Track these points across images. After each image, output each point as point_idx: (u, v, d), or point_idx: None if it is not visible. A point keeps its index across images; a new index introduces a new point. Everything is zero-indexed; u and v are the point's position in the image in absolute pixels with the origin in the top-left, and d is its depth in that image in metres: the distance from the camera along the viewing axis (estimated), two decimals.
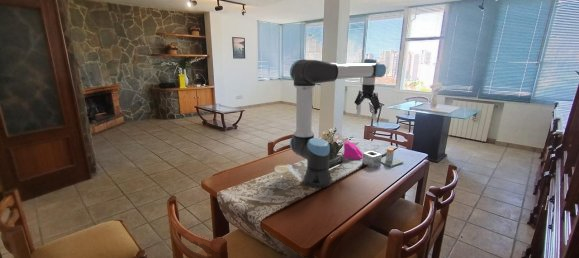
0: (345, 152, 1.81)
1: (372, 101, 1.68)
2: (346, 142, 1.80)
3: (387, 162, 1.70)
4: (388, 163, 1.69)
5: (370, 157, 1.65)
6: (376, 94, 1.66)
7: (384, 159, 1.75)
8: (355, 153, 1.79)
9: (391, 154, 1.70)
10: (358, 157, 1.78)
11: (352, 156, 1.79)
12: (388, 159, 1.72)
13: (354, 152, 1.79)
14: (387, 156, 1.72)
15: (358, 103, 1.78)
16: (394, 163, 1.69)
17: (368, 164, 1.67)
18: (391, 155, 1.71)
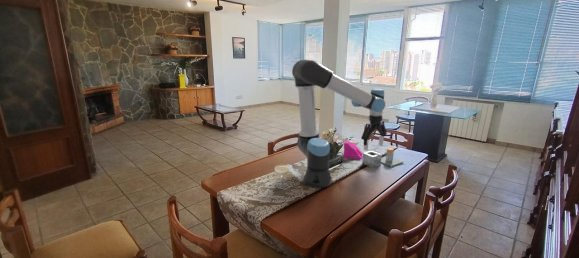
0: (345, 152, 1.82)
1: None
2: (346, 142, 1.80)
3: (387, 162, 1.70)
4: (388, 163, 1.69)
5: (370, 157, 1.65)
6: (367, 125, 1.60)
7: (384, 159, 1.75)
8: (355, 153, 1.80)
9: (391, 154, 1.70)
10: (358, 157, 1.78)
11: (352, 156, 1.79)
12: (388, 159, 1.72)
13: (354, 152, 1.80)
14: (387, 156, 1.72)
15: (380, 133, 1.70)
16: (394, 163, 1.69)
17: (368, 164, 1.67)
18: (391, 155, 1.71)
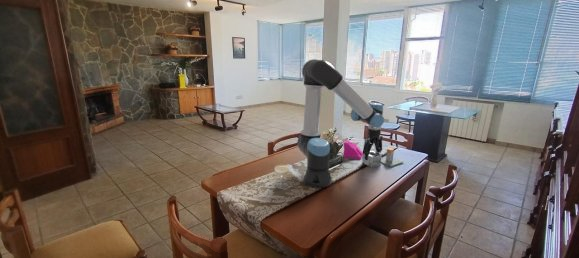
0: (345, 151, 1.82)
1: None
2: (346, 142, 1.81)
3: (387, 162, 1.70)
4: (388, 163, 1.69)
5: (370, 157, 1.65)
6: (366, 140, 1.63)
7: (384, 159, 1.75)
8: (355, 153, 1.80)
9: (391, 154, 1.70)
10: (357, 157, 1.78)
11: (351, 156, 1.79)
12: (388, 159, 1.72)
13: (354, 152, 1.80)
14: (387, 156, 1.72)
15: None
16: (394, 163, 1.69)
17: None
18: (391, 155, 1.71)
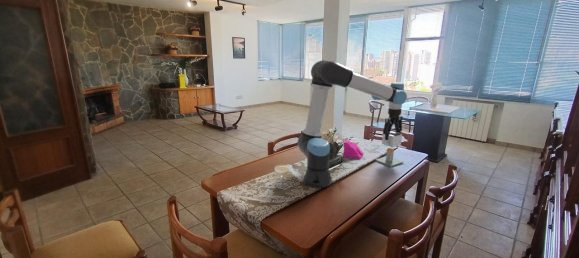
0: (345, 151, 1.83)
1: None
2: (346, 141, 1.82)
3: (387, 162, 1.70)
4: (388, 163, 1.69)
5: (390, 137, 1.65)
6: (386, 120, 1.62)
7: (384, 159, 1.75)
8: (354, 152, 1.80)
9: (391, 154, 1.70)
10: (357, 156, 1.79)
11: (351, 155, 1.80)
12: (388, 159, 1.72)
13: (353, 151, 1.80)
14: (387, 156, 1.72)
15: (395, 129, 1.71)
16: (394, 163, 1.69)
17: None
18: (391, 155, 1.71)
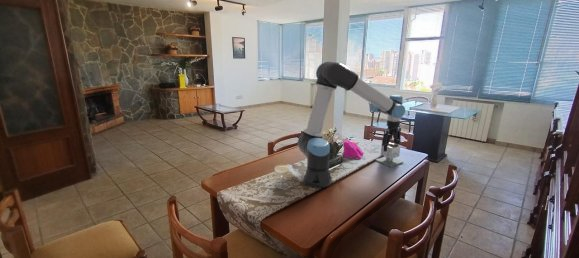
0: (345, 151, 1.84)
1: None
2: (346, 141, 1.82)
3: (387, 162, 1.70)
4: (388, 163, 1.69)
5: (389, 148, 1.67)
6: (385, 132, 1.64)
7: (384, 159, 1.75)
8: (354, 152, 1.81)
9: None
10: (357, 156, 1.79)
11: (351, 155, 1.80)
12: (388, 159, 1.72)
13: (353, 151, 1.81)
14: None
15: (394, 141, 1.73)
16: (394, 163, 1.69)
17: None
18: None
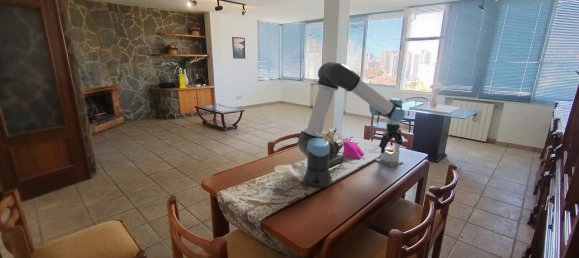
0: (345, 150, 1.84)
1: None
2: (346, 141, 1.83)
3: None
4: (388, 163, 1.69)
5: (388, 154, 1.68)
6: (385, 133, 1.64)
7: None
8: (354, 152, 1.81)
9: None
10: (356, 156, 1.79)
11: (351, 155, 1.81)
12: None
13: (353, 151, 1.81)
14: None
15: (396, 141, 1.74)
16: (394, 163, 1.69)
17: (386, 161, 1.70)
18: None
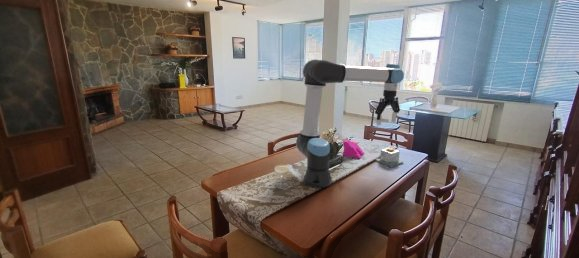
0: (345, 150, 1.85)
1: None
2: (346, 140, 1.83)
3: None
4: (388, 163, 1.69)
5: (388, 154, 1.68)
6: (381, 99, 1.61)
7: None
8: (354, 152, 1.81)
9: None
10: (356, 156, 1.79)
11: (350, 155, 1.81)
12: None
13: (353, 151, 1.81)
14: None
15: (393, 110, 1.70)
16: (394, 163, 1.69)
17: (386, 161, 1.70)
18: None
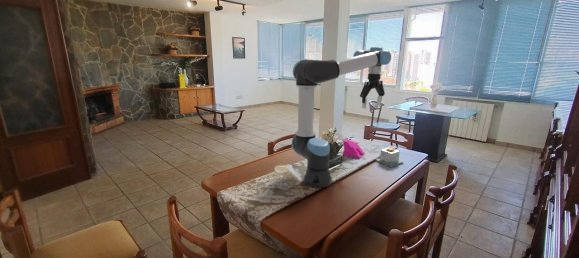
0: (345, 150, 1.85)
1: None
2: (346, 140, 1.84)
3: None
4: (388, 163, 1.69)
5: (388, 154, 1.68)
6: (365, 83, 1.64)
7: None
8: (354, 152, 1.82)
9: None
10: (356, 156, 1.80)
11: (350, 154, 1.82)
12: None
13: (353, 151, 1.82)
14: None
15: (378, 93, 1.73)
16: (394, 163, 1.69)
17: (386, 161, 1.70)
18: None
